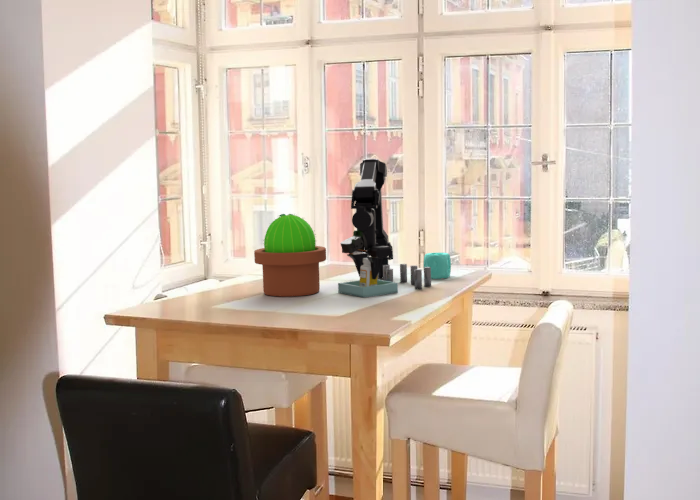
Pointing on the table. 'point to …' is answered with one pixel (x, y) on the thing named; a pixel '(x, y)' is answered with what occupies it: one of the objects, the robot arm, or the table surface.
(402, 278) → the spacer field
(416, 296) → the table surface
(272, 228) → the potted cactus
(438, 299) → the table surface
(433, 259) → the decorative dice
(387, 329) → the table surface
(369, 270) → the supplement bottle
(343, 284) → the teal tray
